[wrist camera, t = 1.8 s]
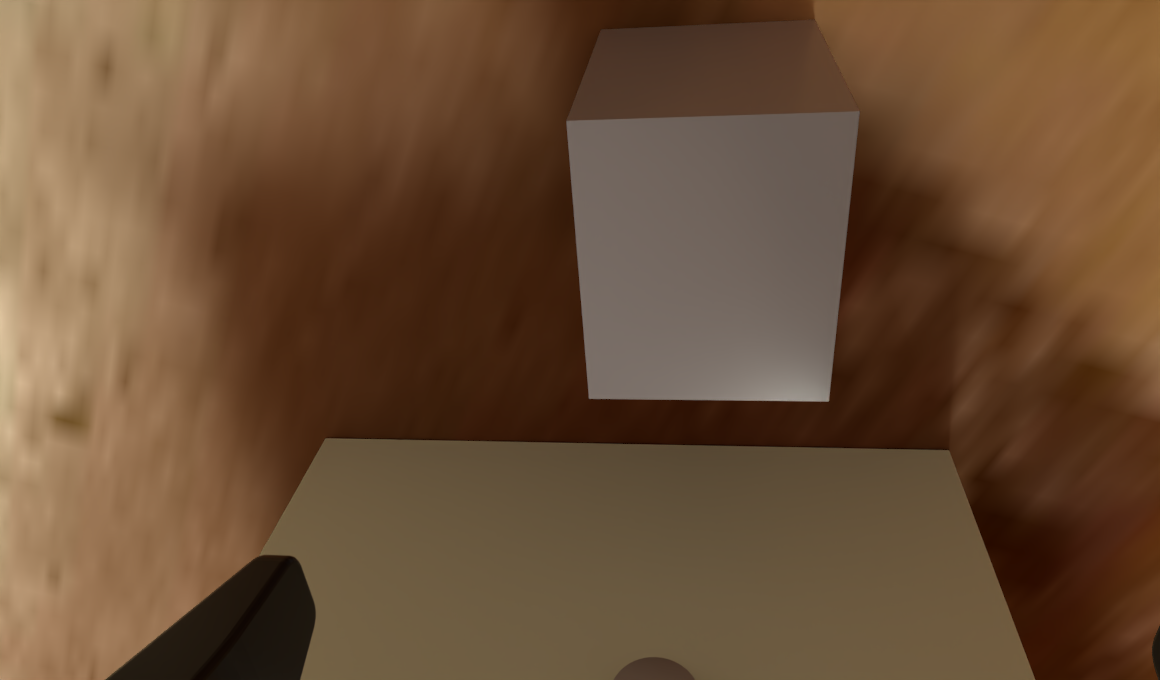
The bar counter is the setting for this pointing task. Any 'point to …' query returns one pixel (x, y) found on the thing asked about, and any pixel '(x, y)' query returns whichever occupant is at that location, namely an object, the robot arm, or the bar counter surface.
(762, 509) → the pale green open box
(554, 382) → the bar counter surface
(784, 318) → the grey block
